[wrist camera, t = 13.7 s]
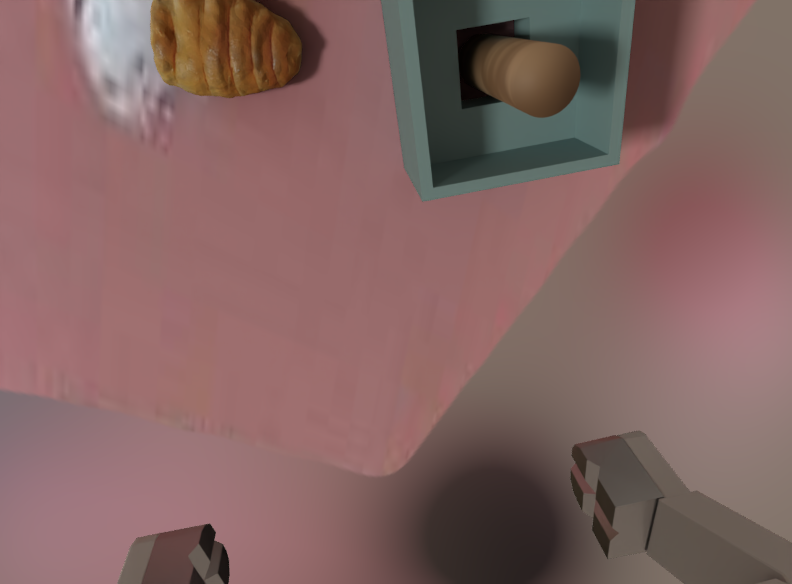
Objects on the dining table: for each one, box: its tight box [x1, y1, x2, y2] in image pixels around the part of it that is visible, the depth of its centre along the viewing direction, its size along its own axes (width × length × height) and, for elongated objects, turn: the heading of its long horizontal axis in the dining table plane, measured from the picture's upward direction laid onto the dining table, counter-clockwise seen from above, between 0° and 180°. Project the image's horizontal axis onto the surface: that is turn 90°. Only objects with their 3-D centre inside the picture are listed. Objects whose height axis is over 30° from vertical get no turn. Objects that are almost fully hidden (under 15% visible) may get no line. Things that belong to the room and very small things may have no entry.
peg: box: [458, 34, 580, 118], centre depth 30 cm, size 4×4×12 cm
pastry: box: [150, 0, 302, 98], centre depth 31 cm, size 9×7×4 cm
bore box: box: [381, 0, 635, 202], centre depth 32 cm, size 14×14×8 cm
